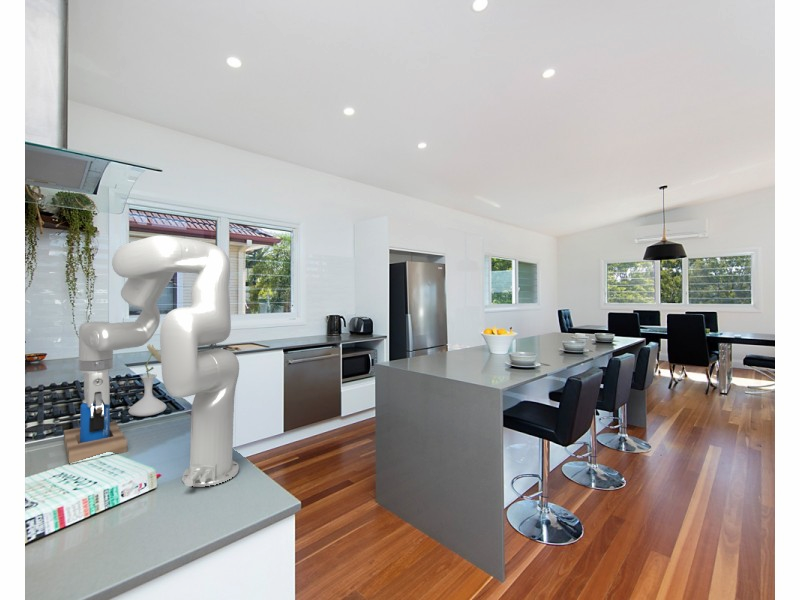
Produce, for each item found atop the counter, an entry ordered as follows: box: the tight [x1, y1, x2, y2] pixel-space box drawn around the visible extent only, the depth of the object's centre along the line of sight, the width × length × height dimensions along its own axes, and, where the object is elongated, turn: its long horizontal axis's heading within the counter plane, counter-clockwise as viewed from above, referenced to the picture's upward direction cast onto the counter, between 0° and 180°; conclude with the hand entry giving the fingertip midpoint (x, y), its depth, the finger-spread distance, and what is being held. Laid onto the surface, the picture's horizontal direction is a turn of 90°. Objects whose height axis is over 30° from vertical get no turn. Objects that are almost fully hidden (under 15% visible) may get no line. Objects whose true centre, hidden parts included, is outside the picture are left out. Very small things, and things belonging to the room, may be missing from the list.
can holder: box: [63, 420, 128, 464], centre depth 105 cm, size 20×12×3 cm, turn 46°
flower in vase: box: [128, 343, 168, 417], centre depth 133 cm, size 13×11×25 cm
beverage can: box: [79, 397, 111, 443], centre depth 105 cm, size 6×6×12 cm
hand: (95, 426), depth 105 cm, fingers closed on beverage can, 6 cm apart
